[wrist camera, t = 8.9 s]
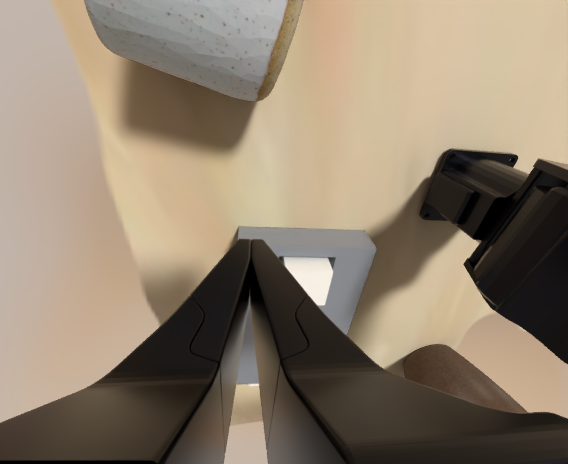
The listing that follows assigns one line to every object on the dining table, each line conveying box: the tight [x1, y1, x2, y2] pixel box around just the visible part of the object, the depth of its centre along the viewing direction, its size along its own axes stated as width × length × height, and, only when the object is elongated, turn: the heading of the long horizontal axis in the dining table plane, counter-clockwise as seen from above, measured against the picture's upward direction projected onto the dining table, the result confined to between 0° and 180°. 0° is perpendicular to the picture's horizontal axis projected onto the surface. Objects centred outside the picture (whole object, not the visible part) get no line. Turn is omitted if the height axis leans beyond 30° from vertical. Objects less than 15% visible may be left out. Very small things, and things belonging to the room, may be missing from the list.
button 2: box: [280, 256, 333, 305], centre depth 24 cm, size 4×4×4 cm
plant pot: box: [404, 344, 528, 413], centre depth 32 cm, size 15×15×16 cm
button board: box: [237, 226, 377, 385], centre depth 29 cm, size 12×21×3 cm, turn 174°
